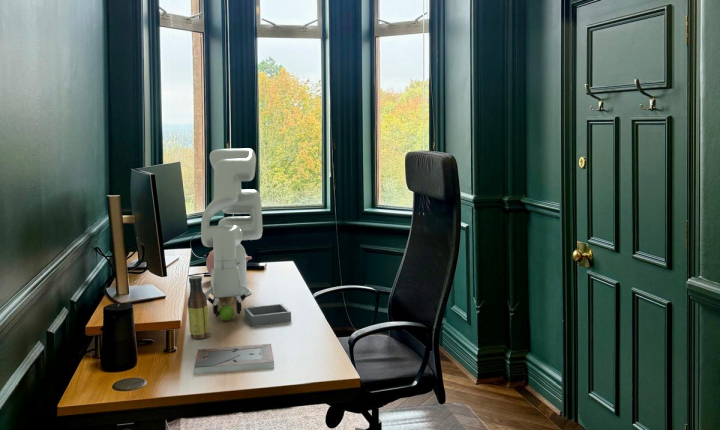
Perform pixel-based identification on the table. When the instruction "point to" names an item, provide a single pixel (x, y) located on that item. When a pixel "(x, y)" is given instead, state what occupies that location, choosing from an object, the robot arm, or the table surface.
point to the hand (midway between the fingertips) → (227, 314)
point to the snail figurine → (226, 308)
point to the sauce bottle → (198, 309)
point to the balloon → (211, 261)
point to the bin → (267, 314)
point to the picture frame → (234, 358)
